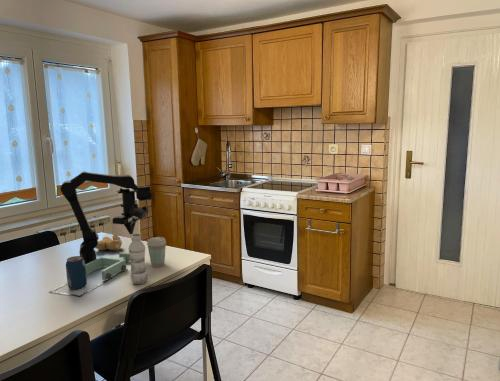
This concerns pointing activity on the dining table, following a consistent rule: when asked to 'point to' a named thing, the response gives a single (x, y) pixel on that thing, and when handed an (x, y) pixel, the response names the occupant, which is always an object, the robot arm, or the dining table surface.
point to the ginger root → (109, 243)
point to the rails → (86, 291)
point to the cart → (109, 265)
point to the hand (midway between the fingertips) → (131, 234)
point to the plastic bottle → (137, 260)
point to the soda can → (76, 273)
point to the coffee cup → (157, 251)
